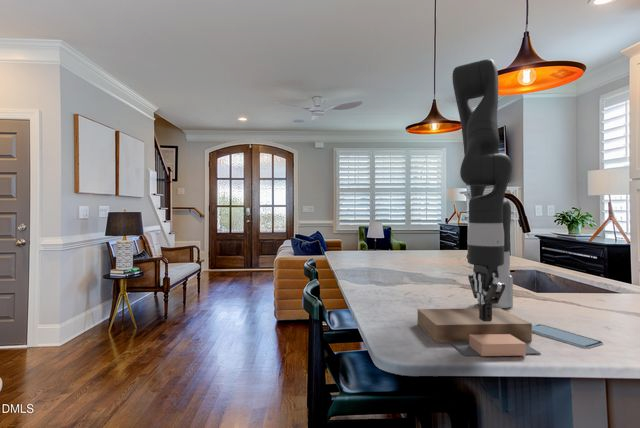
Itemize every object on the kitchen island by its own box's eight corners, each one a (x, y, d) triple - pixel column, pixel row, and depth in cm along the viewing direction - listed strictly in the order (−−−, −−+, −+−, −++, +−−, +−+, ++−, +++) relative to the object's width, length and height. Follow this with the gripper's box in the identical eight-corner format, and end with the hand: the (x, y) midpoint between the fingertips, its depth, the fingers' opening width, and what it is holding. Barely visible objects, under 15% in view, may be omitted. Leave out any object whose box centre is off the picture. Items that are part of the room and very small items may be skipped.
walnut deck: (499, 323, 100) (499, 308, 100) (531, 341, 86) (531, 323, 86) (417, 324, 99) (417, 309, 99) (436, 342, 85) (436, 324, 85)
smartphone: (586, 347, 81) (521, 327, 95) (586, 351, 81) (521, 331, 95) (605, 342, 85) (540, 323, 98) (605, 346, 85) (540, 327, 98)
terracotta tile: (525, 343, 77) (525, 355, 77) (509, 334, 83) (509, 345, 83) (482, 344, 77) (482, 356, 77) (469, 334, 83) (469, 345, 83)
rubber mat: (520, 342, 86) (520, 340, 86) (540, 354, 78) (540, 353, 78) (450, 343, 85) (450, 341, 85) (464, 355, 78) (464, 354, 78)
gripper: (518, 245, 79) (518, 329, 79) (487, 241, 92) (487, 312, 92) (483, 245, 78) (482, 329, 78) (457, 241, 92) (457, 313, 92)
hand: (485, 320), depth 85 cm, fingers closed
